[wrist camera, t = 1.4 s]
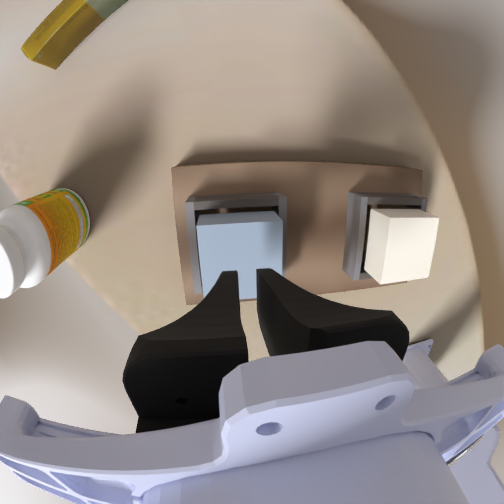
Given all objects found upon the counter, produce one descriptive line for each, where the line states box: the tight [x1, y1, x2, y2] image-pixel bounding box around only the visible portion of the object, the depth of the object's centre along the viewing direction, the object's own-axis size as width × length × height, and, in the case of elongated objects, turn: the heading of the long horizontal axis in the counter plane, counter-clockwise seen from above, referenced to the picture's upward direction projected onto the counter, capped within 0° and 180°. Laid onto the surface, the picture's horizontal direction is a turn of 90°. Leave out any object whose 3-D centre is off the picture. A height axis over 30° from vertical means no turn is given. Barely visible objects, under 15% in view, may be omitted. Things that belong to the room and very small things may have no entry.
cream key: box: [364, 209, 439, 285], centre depth 17 cm, size 4×4×2 cm
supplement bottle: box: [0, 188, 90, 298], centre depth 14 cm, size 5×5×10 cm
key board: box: [171, 161, 427, 305], centre depth 19 cm, size 10×19×4 cm, turn 91°
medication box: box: [21, 0, 128, 70], centre depth 11 cm, size 12×3×4 cm, turn 131°
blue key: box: [196, 211, 283, 299], centre depth 16 cm, size 4×4×2 cm
